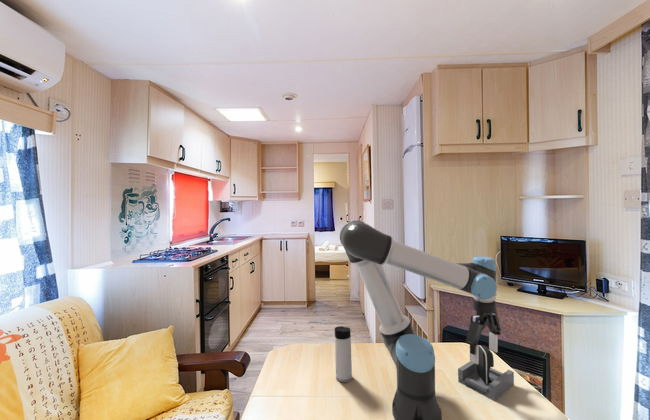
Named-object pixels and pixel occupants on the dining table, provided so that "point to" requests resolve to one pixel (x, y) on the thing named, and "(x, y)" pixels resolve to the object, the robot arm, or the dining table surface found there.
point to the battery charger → (485, 363)
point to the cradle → (490, 390)
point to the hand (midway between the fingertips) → (484, 356)
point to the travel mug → (343, 354)
